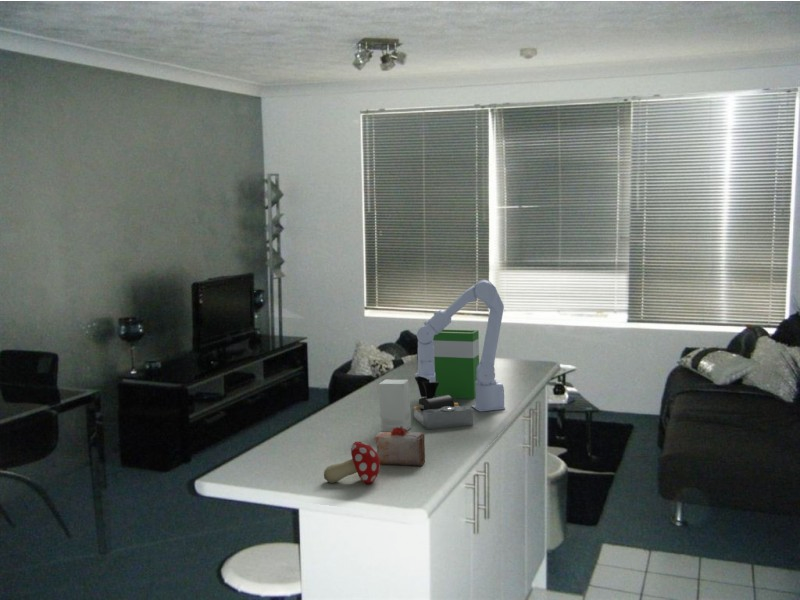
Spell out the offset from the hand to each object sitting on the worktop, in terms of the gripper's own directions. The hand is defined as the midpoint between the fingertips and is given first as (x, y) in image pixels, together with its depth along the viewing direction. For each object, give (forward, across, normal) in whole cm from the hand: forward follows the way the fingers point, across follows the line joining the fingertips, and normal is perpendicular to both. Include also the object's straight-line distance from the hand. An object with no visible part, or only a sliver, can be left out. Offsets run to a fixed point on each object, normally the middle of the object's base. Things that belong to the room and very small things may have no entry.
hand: (427, 399), depth 277 cm
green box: (+4, -16, +15) cm, 22 cm away
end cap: (+4, +11, 0) cm, 12 cm away
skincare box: (+4, +22, -17) cm, 28 cm away
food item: (+4, +54, -24) cm, 60 cm away
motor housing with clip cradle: (+3, +18, 0) cm, 18 cm away
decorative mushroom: (+4, +65, -40) cm, 76 cm away
